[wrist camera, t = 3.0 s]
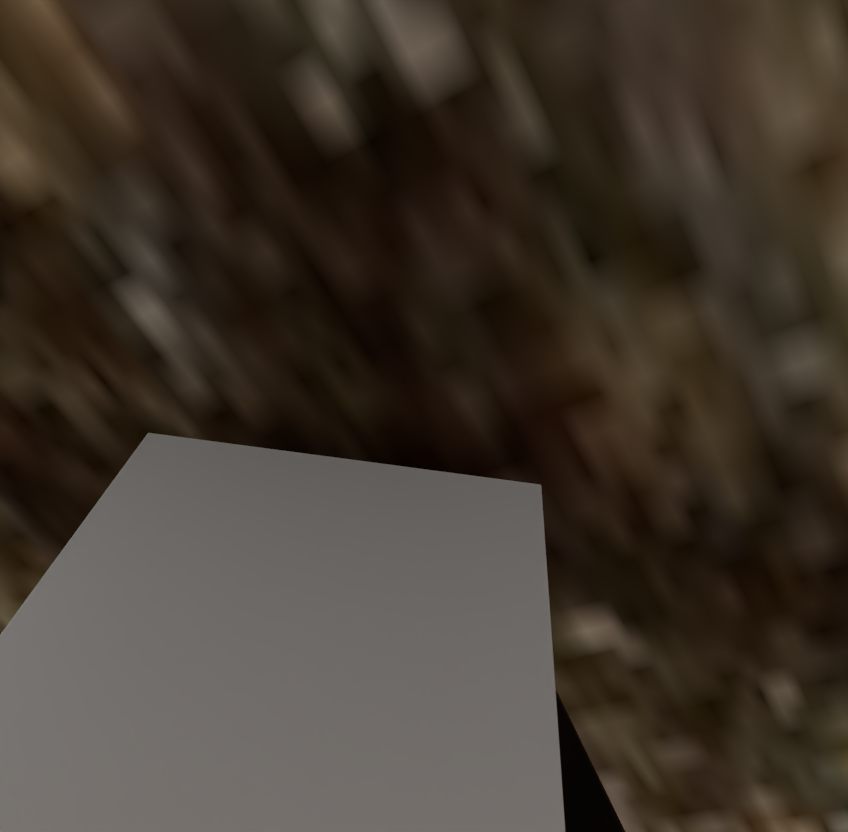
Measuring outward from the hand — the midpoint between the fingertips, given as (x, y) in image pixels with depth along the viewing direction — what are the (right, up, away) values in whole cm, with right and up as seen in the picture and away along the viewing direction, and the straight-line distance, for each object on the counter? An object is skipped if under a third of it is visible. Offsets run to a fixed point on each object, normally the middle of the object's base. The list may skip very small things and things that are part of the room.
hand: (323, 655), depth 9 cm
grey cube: (0, +1, +1) cm, 1 cm away
